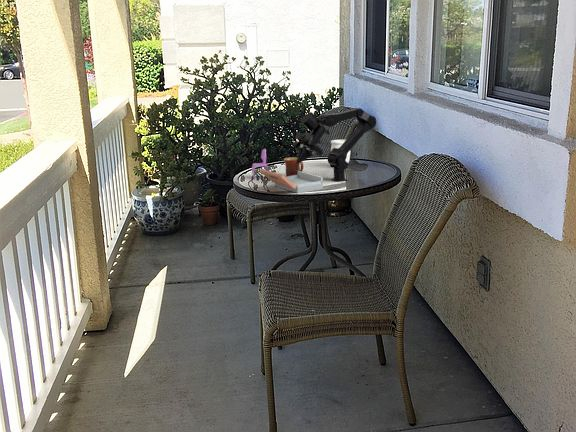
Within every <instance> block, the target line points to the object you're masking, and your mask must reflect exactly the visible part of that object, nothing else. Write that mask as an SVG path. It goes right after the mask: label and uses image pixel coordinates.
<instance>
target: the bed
mask: <svg viewBox="0 0 576 432" xmlns="http://www.w3.org/2000/svg"><path fill="white" fill-rule="evenodd" d="M285 177H286V176H285ZM286 178H287V179H288V180H289V181H290V182H291V183H292V184H293V185H295V186H296V188H295V189H293V188H290V187H286V186H283V185H280V184H277V183H274V186H275V187H277V188H280V189H283V190H286V191H290V192H293V193H296V192H297V193H296V194H300V193H299V192H301V193H306V192H311V191H312V192H313V191H318V190H322V189H324V180H323V179H324V178H323V176H320V175H315V174H312V173H308V172H306V171H305V172H304V171H302V172H301V171H298V175H293V176H287V177H286Z"/></svg>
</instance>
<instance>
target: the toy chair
mask: <svg viewBox="0 0 576 432" xmlns="http://www.w3.org/2000/svg"><path fill="white" fill-rule="evenodd" d="M260 155H261V156H260V158H261V160H262V162H257V163H255V162H254V163H252V166H251V174H252V178H253V179H254V180H255V179H256V176H255V169H256V168H260V167H265V170H267V171H270V170H269V167H268V164H267V149H266V148H263V149H262V150H261V154H260Z"/></svg>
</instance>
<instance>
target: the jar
mask: <svg viewBox="0 0 576 432" xmlns="http://www.w3.org/2000/svg"><path fill="white" fill-rule="evenodd" d="M346 140H347V138H346V139H342V138H340V139H332V140H330V144H331V147H330V152H331V151H332V149H333V148H337V149H338V148H340V147H341V145H342V144H343V143H344V142H345V141H346ZM350 157H351V150H350V151H349V152H348V153H347V157H346V160H345V161H346V162H347V163H348V164H349V163H350ZM348 168H349V166H348Z"/></svg>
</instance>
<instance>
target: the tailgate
mask: <svg viewBox="0 0 576 432" xmlns="http://www.w3.org/2000/svg"><path fill="white" fill-rule="evenodd" d="M259 172H260V173H261V174H263V175H264V176H265V177H266V178H267V179H268V180H270V181H271V182H272V183H274V184H275V183H277V184H280V185H283V186H286V187H290V188H293V189H295V188H296V186H295V185H293V184H292V183H291V182H290V181H289V180H288V179H287V178H286V176H284V174H281V173H277V172H274V171H271V170H269V171H267V170H266V169H263V168H260V169H259Z"/></svg>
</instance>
